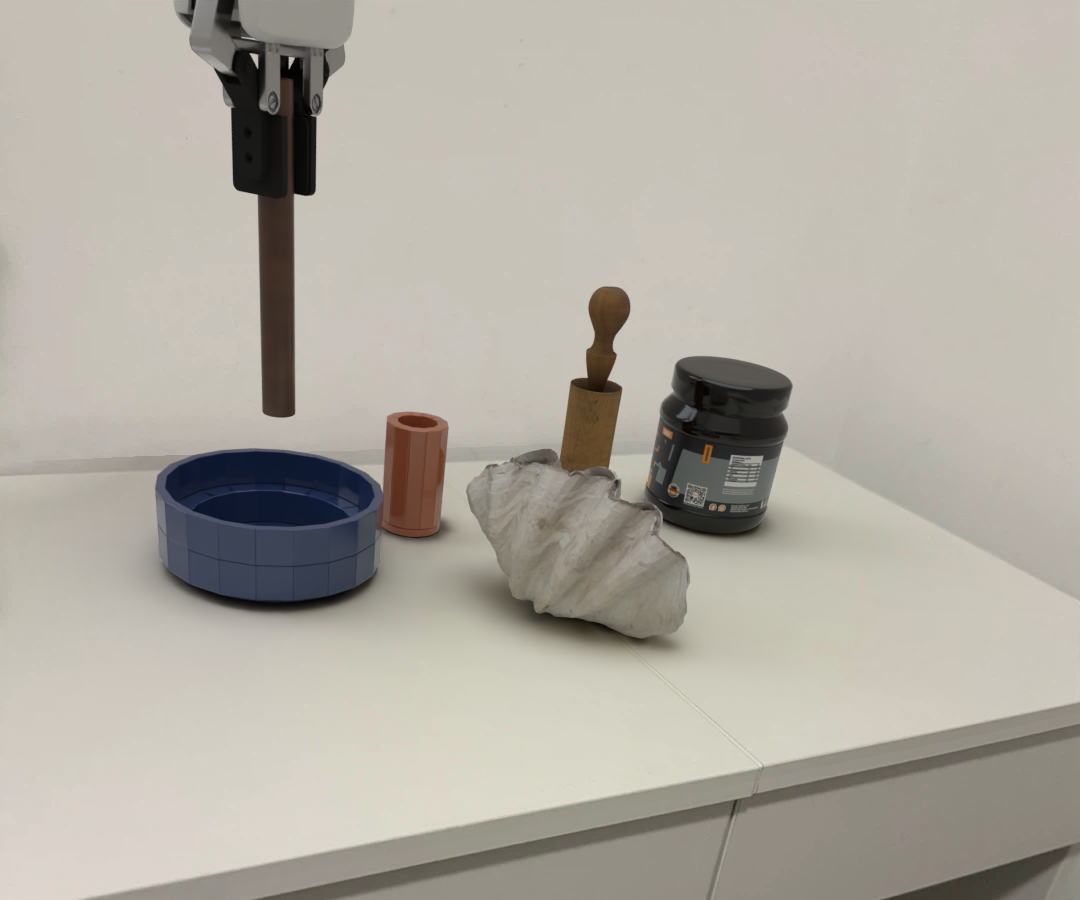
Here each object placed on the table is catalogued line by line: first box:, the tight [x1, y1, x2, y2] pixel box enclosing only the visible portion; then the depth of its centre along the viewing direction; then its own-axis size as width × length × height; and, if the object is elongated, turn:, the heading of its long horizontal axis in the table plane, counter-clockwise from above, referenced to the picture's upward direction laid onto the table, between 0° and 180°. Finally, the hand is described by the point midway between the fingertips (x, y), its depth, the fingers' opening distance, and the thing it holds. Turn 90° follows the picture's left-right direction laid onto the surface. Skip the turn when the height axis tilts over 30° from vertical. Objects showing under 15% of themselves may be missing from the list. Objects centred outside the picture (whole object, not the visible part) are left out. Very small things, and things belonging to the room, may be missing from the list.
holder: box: [382, 411, 450, 538], centre depth 78 cm, size 4×4×8 cm
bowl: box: [154, 447, 384, 604], centre depth 70 cm, size 14×14×6 cm
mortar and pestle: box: [559, 285, 631, 473], centre depth 80 cm, size 7×6×18 cm
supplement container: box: [644, 355, 794, 535], centre depth 88 cm, size 10×10×12 cm
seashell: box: [465, 448, 691, 639], centre depth 69 cm, size 10×15×10 cm
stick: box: [257, 77, 296, 419], centre depth 61 cm, size 2×2×18 cm
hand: (275, 190), depth 59 cm, fingers closed on stick, 2 cm apart
